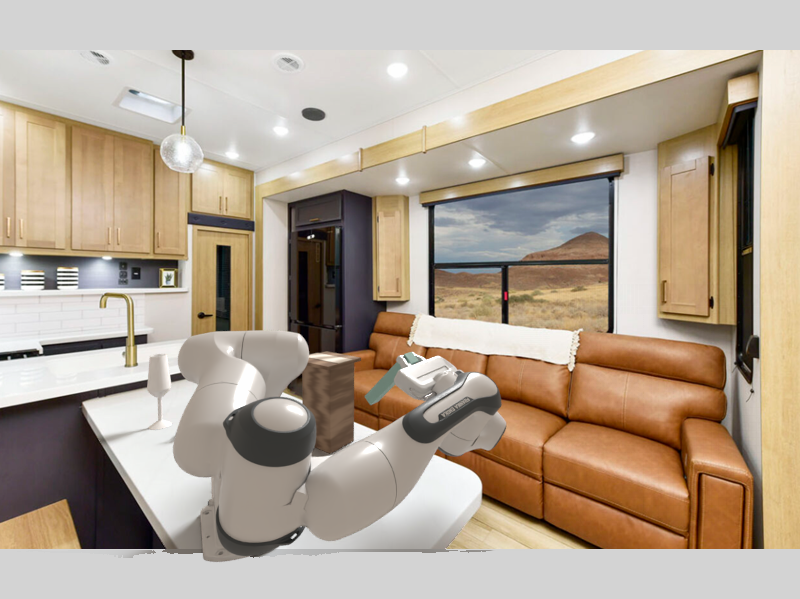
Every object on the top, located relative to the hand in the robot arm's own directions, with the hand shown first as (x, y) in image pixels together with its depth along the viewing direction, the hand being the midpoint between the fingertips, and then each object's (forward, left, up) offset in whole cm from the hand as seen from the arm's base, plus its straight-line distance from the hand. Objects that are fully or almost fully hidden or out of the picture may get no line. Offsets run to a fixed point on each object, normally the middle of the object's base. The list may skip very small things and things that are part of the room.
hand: (404, 355), depth 91 cm
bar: (+3, +2, -8) cm, 9 cm away
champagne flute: (+53, +67, -31) cm, 91 cm away
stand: (+23, +16, -31) cm, 41 cm away
